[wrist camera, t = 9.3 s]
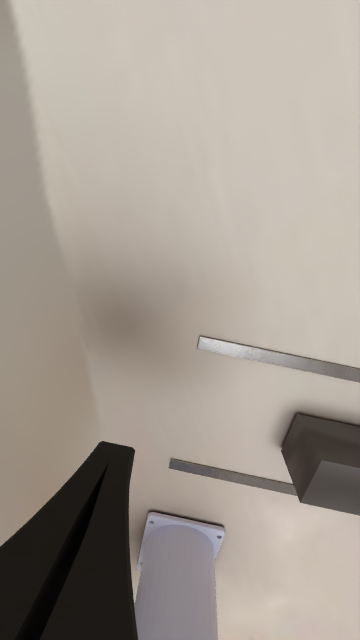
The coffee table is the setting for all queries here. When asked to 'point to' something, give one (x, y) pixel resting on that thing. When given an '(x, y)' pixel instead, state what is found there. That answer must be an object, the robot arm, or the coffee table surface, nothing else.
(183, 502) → the coffee table surface
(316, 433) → the cart
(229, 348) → the rail track
